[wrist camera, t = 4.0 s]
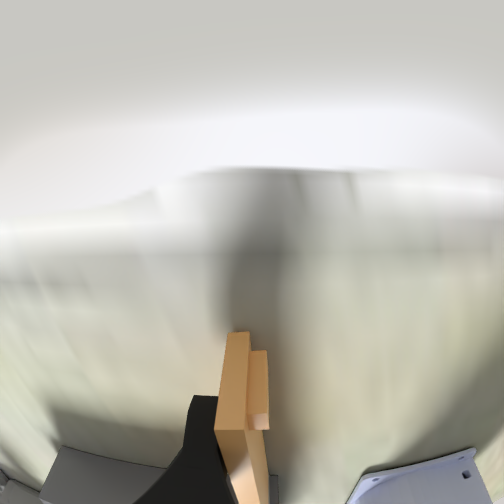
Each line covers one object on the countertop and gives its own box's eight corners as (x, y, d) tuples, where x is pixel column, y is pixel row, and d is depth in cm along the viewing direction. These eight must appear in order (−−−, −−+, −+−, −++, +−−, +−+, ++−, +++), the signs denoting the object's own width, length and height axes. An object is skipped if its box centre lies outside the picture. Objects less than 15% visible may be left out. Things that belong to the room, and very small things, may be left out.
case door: (279, 476, 16) (280, 540, 12) (254, 477, 16) (253, 541, 12) (265, 330, 12) (267, 428, 8) (226, 332, 12) (211, 429, 8)
